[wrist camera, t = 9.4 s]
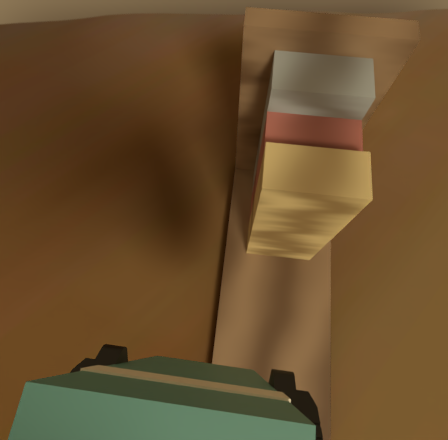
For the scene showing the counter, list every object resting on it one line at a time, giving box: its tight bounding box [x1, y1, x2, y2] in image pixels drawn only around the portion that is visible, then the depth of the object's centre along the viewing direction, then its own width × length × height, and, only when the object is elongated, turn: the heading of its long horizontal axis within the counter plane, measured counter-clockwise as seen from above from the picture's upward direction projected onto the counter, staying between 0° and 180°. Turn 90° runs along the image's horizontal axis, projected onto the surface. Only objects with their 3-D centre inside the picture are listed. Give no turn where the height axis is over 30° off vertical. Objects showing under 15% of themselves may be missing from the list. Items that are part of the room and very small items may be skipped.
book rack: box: [212, 7, 421, 440], centre depth 23 cm, size 10×26×18 cm, turn 173°
